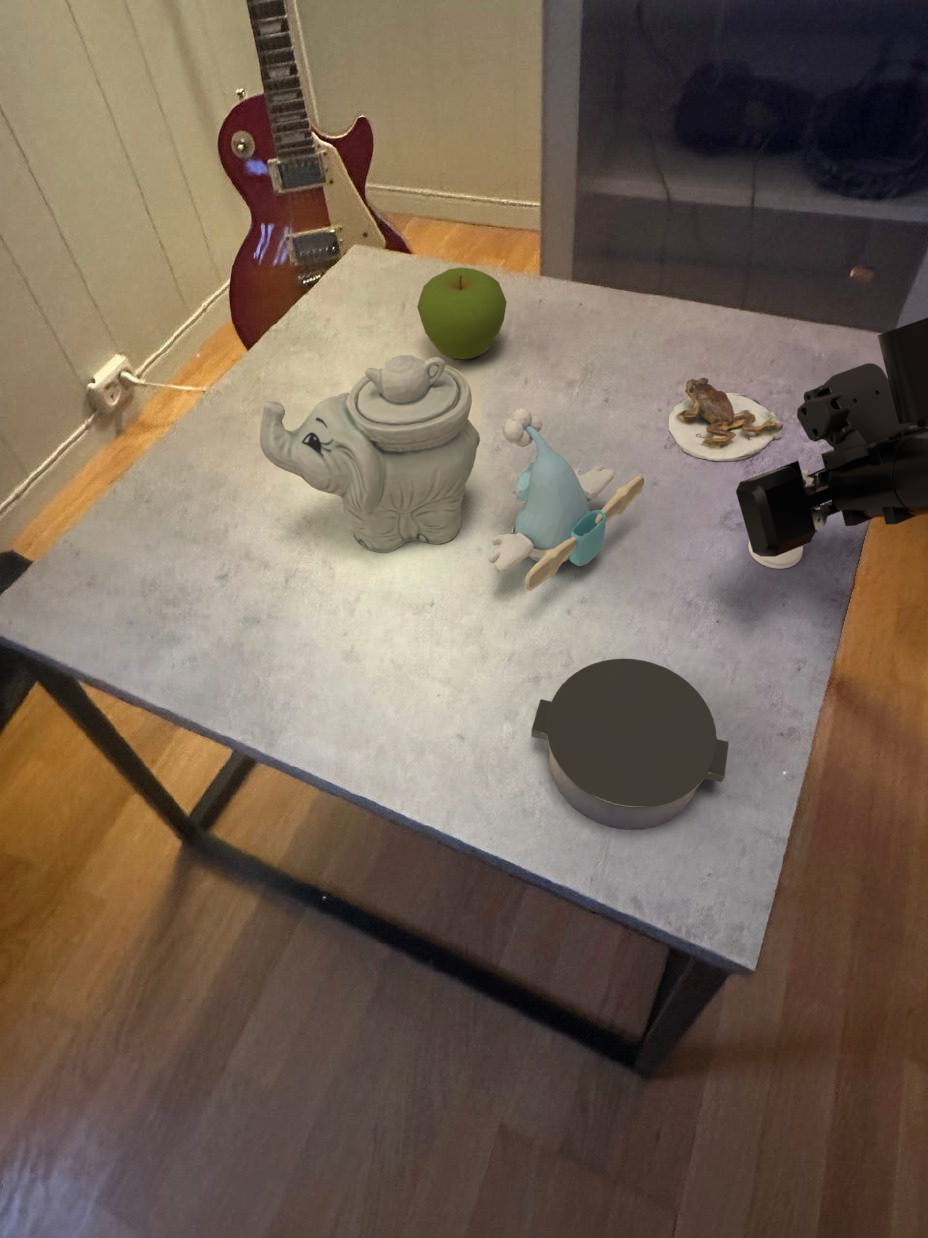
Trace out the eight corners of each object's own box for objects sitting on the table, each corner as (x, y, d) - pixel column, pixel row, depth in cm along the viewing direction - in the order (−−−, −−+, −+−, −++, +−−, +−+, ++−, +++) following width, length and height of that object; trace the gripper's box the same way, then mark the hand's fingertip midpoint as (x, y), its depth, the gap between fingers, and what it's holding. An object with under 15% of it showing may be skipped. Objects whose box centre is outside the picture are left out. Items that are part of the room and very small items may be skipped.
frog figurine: (642, 425, 85) (646, 397, 82) (716, 380, 89) (722, 351, 85) (722, 478, 79) (730, 450, 76) (797, 427, 83) (807, 398, 80)
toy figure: (562, 480, 80) (568, 357, 68) (643, 526, 76) (665, 403, 64) (452, 571, 74) (438, 453, 62) (533, 628, 69) (535, 513, 57)
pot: (725, 712, 63) (738, 680, 59) (707, 856, 56) (721, 831, 52) (552, 674, 66) (554, 641, 62) (515, 806, 59) (515, 779, 55)
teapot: (289, 539, 78) (231, 386, 63) (372, 451, 85) (338, 295, 70) (422, 598, 72) (394, 444, 57) (499, 498, 79) (492, 338, 64)
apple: (418, 333, 98) (408, 259, 90) (497, 320, 99) (494, 245, 91) (430, 383, 92) (421, 308, 84) (515, 369, 93) (513, 293, 85)
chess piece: (792, 576, 71) (826, 498, 63) (740, 557, 72) (767, 480, 64) (808, 541, 73) (842, 462, 65) (757, 524, 75) (785, 445, 67)
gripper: (1005, 322, 54) (847, 372, 69) (785, 401, 50) (669, 436, 65) (1037, 473, 55) (876, 489, 70) (827, 560, 52) (704, 557, 67)
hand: (784, 490), depth 68 cm, fingers open, 5 cm apart
